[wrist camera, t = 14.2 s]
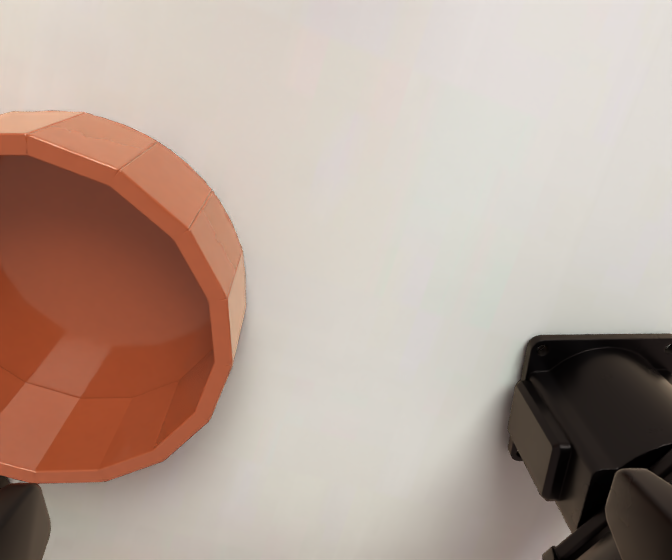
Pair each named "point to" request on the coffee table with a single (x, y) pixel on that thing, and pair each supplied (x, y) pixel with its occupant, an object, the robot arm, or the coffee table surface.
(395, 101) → the coffee table surface
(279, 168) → the coffee table surface
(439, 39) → the coffee table surface
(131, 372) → the desk pot
